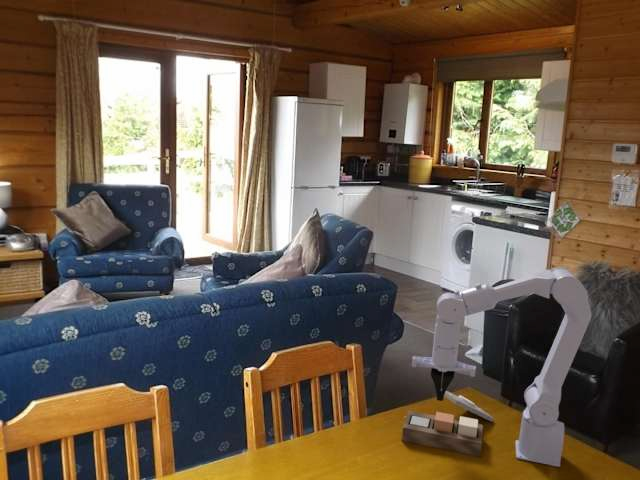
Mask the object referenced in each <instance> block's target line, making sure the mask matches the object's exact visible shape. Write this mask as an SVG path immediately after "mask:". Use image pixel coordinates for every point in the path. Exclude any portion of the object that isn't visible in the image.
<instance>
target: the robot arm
mask: <svg viewBox="0 0 640 480" xmlns="http://www.w3.org/2000/svg"><path fill="white" fill-rule="evenodd" d="M453 291H454V293H452V292H444V293H443V294H441V295H440V296H439V297H438V299H437V301H436V312H437V314H436V319H435V325H434V331H433V332H434V333H433V343H432V354H431V356H417V355H416V356H415V355H413V356H412V361H411V367H413V368H417V367H419V368H427V369H431V370H430V376H431V379H432V382H433V384H434V387H435V389H434V390H435V393H436V401H440V402H443V401H444V398H445V396H444V394H445V392H446V391H448V387H449V386H450V384H451V383H452V381H453V379H454V377H455V373H456V374H460V375H468V376H469V377H472V378H473V377H474V378H475V375H476V369H477V366H476V365H471V364H467V363H464V362H462V361H458V353H459V352H458V351H459V343H460V333H461V325H460V323H461V320H462V318H463V317H464V316H466V317H467V316H471V315H475V314H478V313H481V312H485V311H489V310H493V309H494V308H495V307H496V306H497V303H498V302H502V301H506V300H510V299H511V300H512V299H515V298H519V297H524V296H528V295H533V294H535V295H537V296H540V297H543V298H546V299H550V298H551V297H550V294H551V295H552V297H553V298H554V299H555V301H556V302H557V303H558V304H559V305H561V307H562V309H563V311H564V313H565V314H564V317H563V319H562V321H561V324H560V326H559V329H558V331H557V333H556V336H555V338H554V340H553V343H552V346H551V347H550V350H549V352H548V354H547V357H546V359H545V361H544V363H543V367H542V368H541V371H540V373H539V375H537V376H535V378H534V381H533V382H532V383H531V384H530V385H529V386H528V387H527V388H526V389H525V391H524V394H523V397H524V402H525V403H526V407H525V409H524V410H523V412H522V415H521V423H520V431H519V437H518V439H517V440H515V442H514V443H515V445H514V446H515V457H516V459H519V460H523V461H528V462H533V463H539V464H542V465H548V466H554V467H556V468H557V467H558V468H559V467H561V459H562V455H563V454H562V453H563V448H564V447H563V446H564V440H565V423H564V422H562V421H559V420H558V418H559V415H560V412H559V411H560V410H559V405H560V403H561V401H562V400H561V399H562V386H563V385H564V382H565V379H566V377H567V375H568V373H569V371H570V368H571V365H573V362H574V358H575V357H576V354H577V352H578V350H579V347H580V344H582V343H581V342H582V340H583V337H584V335H585V333H586V331H587V329H588V326H589V324H590V322H591V319H592V316H593V315H592V310H591V306H590V301H589V296H588V293H589V292H588V291H587V289H586V287H585V286H584V285H583V283H582V282H581V281H580V279H578V278H577V277H576V276H575V274H574V273H573V271H571V269H569V268H567V267H564V266H563V267H562V266H559V267H555V268H552V269H543V270H541V271H538V272H536V273H533V274H530V275H527V276H524V277H521V278H517V279H514V280H511V281H509V282H506V283H503V284H500V285H496V286H491V285H489V284H486V283H484V284H481V283H480V282H479V283H475V284H474V287H471V288H467V289H464V290H459V289H457V290H456V289H455V290H453ZM441 388H442V390H441Z"/></svg>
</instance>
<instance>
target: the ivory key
mask: <svg viewBox="0 0 640 480" xmlns="http://www.w3.org/2000/svg"><path fill="white" fill-rule="evenodd" d="M478 424H479V419H476V418H471V417H467V416H459V428H458V434H460V435H465V436H470V437H475V438H476V435H477V427H478Z"/></svg>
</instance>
